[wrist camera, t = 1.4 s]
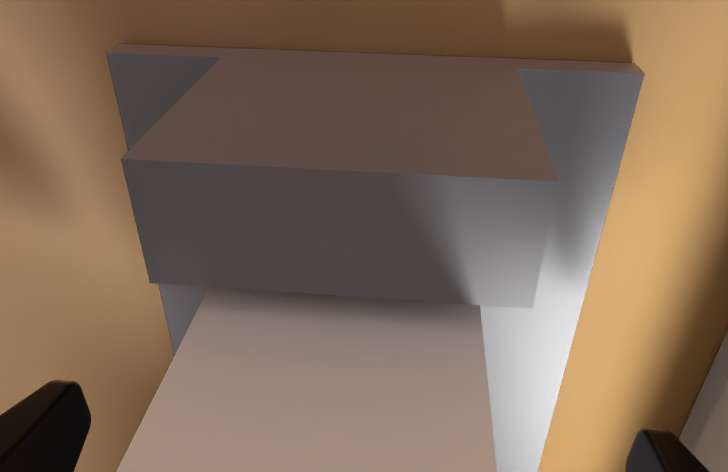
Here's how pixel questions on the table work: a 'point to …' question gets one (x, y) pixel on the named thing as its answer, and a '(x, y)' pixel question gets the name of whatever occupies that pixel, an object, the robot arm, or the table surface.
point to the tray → (711, 417)
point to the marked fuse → (321, 388)
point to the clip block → (383, 191)
